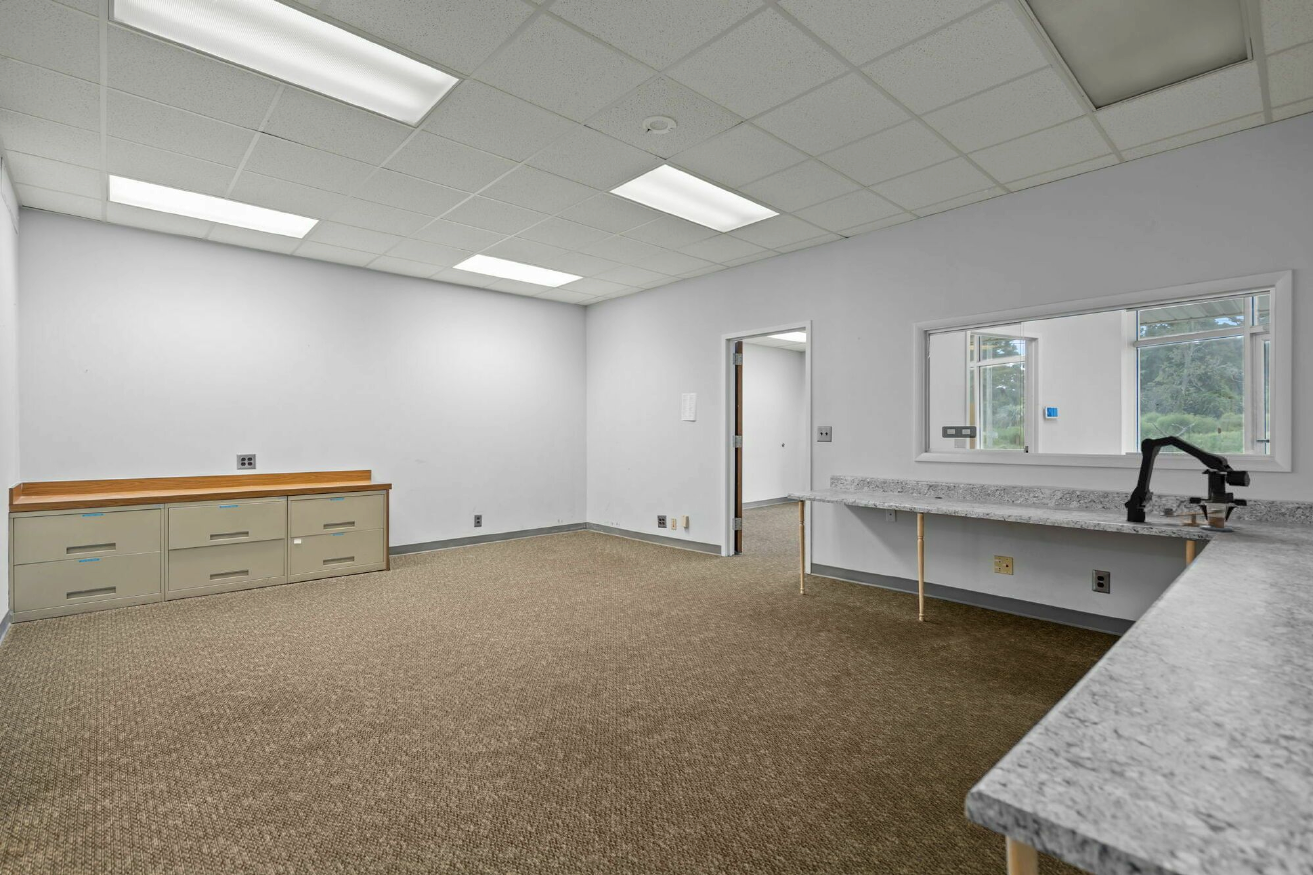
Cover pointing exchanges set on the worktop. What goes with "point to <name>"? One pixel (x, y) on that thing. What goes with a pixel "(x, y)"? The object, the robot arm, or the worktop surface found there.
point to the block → (1216, 521)
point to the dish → (1216, 528)
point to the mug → (1216, 506)
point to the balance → (1169, 513)
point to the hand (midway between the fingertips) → (1216, 521)
